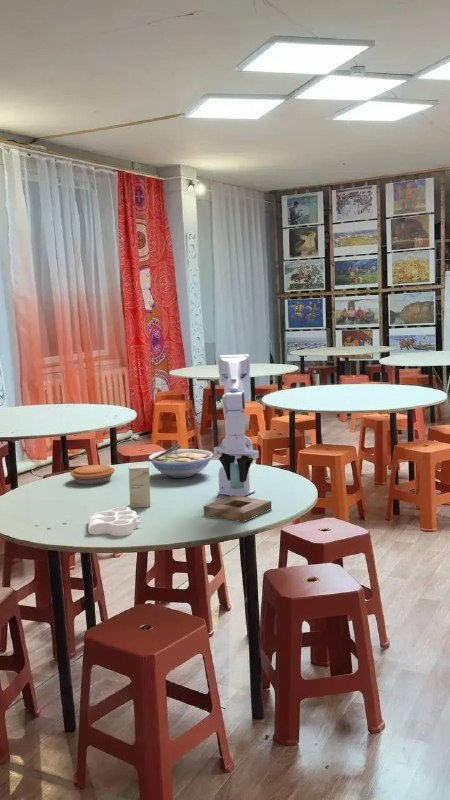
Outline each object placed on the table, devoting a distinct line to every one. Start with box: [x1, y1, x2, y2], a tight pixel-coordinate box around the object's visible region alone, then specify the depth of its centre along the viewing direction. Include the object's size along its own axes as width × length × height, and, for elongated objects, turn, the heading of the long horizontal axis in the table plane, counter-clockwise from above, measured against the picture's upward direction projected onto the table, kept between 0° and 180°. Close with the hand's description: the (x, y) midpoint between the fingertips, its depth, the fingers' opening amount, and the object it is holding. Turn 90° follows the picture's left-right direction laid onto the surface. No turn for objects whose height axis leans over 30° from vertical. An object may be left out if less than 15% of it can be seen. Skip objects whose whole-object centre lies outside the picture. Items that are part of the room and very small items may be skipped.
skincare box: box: [128, 464, 151, 509], centre depth 218 cm, size 6×4×12 cm
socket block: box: [203, 495, 273, 522], centre depth 208 cm, size 14×14×2 cm
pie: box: [69, 464, 116, 486], centre depth 252 cm, size 15×16×5 cm
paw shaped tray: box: [88, 506, 143, 537], centre depth 198 cm, size 3×18×15 cm
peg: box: [230, 462, 244, 489], centre depth 206 cm, size 4×4×7 cm
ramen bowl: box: [148, 444, 214, 479], centre depth 255 cm, size 25×23×8 cm
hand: (236, 480), depth 206 cm, fingers closed on peg, 4 cm apart
